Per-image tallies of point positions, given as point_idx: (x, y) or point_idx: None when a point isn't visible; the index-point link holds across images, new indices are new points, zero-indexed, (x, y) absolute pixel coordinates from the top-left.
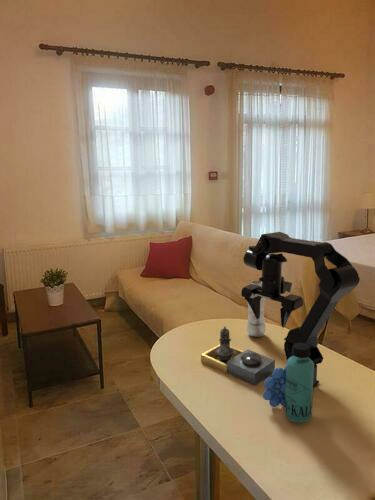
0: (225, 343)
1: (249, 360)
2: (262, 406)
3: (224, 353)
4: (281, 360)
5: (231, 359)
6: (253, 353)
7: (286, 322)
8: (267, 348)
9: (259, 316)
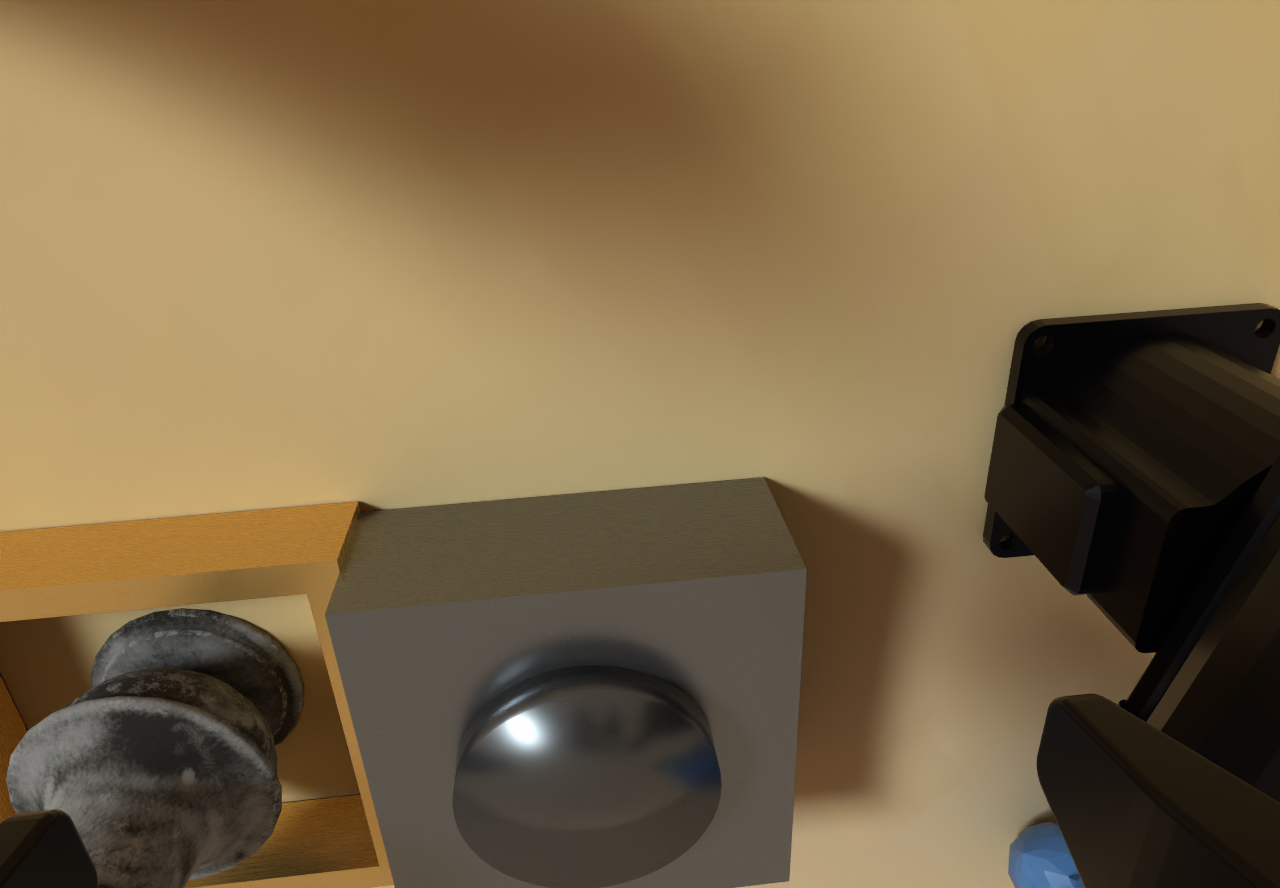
0: None
1: (621, 847)
2: (948, 866)
3: (220, 855)
4: (661, 182)
5: (404, 882)
6: (532, 719)
7: (1244, 800)
8: (244, 7)
9: (27, 869)
